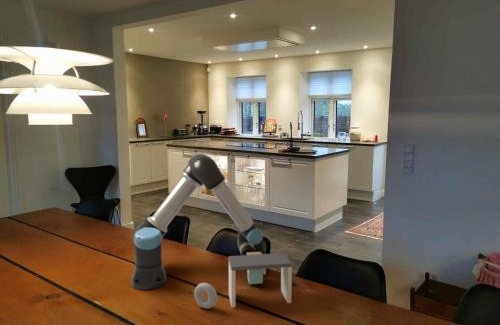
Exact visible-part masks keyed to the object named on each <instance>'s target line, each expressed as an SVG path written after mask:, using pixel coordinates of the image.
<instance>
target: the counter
mask: <svg viewBox="0 0 500 325" xmlns="http://www.w3.org/2000/svg"><path fill="white" fill-rule="evenodd" d="M279 268H280V269H281V270H280V291H281V293H282V296H283V298H284V299H285V301H286V303H287V304H291V303H292V287H293V285H292V284H293V283H292V282H293V281H292V280H293V278H292V277H293V275H292V274H293V262H292V260H290V258H289V257H288V255H287V254H286V253H285V252H283V253H282V252H281V253H280V252H279V253H262V254H260V255H243V256H241V255H239V256H237V255H230V256H229V255H228V298H229V303H230V305H231V306H230V307H231V308H236V271H245V270H252V269H266V270H268V269H279Z"/></svg>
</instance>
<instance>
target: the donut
mask: <svg viewBox="0 0 500 325" xmlns="http://www.w3.org/2000/svg"><path fill="white" fill-rule="evenodd" d="M204 293H206V295H207V299H206V298H205V296H204ZM193 295H194V299H195V302H196V303H197V305H199V307H200V308H203V309H205V310H206V309H208V310H209V309H211V308H213V307H214V306H215V305H216V303H217V300H218V294H217V291H216V289H215V288H214V287H213V285H211V284H210V283H207V282H201V283H198V285H196V286H195V288H194V291H193Z"/></svg>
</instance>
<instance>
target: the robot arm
mask: <svg viewBox="0 0 500 325" xmlns="http://www.w3.org/2000/svg"><path fill="white" fill-rule="evenodd" d="M202 186H204V187H205V189H206V190H207V191H210V192H211V193H212V194H213V196H214V197H215V199H216V200H217V202H219V203H220V206H221V207H223V209H224V210H225V212H226V214H227V215H228V216H229V218H231V220H232V221H233V223H234V224H235V226H236V227H237V241H236V244H237V249H238V250H239V252H240V255H238V254H237V255H236V256H243V255H247V252H257V249H256V248H255V246H257V245H259V244H260V243H261V242H262V241H263V238H264V235H263V232H262V230H260V229H259V228H258V226H257V225H256V223H255V222H254V220H253V216H251V215H250V214H248V212H247V211H246V209H245V208H244V206H243V205H242V204H241V202H240V201H239V199H238V198H237V197H236V195H235V194H234V192H233V191H232V189H231V188H230V187H229V185H228V184H227V183H226V178H225V176H224V174H223V173H222V171H221V170H220V168H219V166H218V164H217V163H216V161H215V160H214V159H213V158H212V157H210V156H208V154H207V155H206V154H205V153H204V154H203V153H198V154H195V155H193V156H191V158H190V159H189V160H188V162H187V166H185V168H184V169H183V171H182V177H181V178H180V180H179V181H178V183H177V184H176V185H175V186H174V188H172V190H171V192H170V193H169V194H168V195H167V197H166V198H165V199H164V200H163V201H162V203H161V205H159V207H158V208H157V210H156V211H155V213H153V215H152V216H147V217H146V218H145V220H144V221H143V222H142V223H141V224H139V225H138V227H137V228H136V230H135V232H134V237H133V244H134V261H135V262H134V265H135V266H134V267H135V268H134V270H133V274H132V277H131V286H132V287H133V288H135V289H137V290H143V291H145V290H146V291H147V290H154V289H158V288H160V287H163V286H164V285H165V284H166V283H167V281H168V280H167V278H168V277H167V273H166V270H165V267H164V265H163V242H162V241H163V238H164V236H165V235H166V233H167V232H168V225H169V224H171V222H172V220H174V218H175V217H176V215H177V214H178V213H179V211H180V210H182V207H183V206H184V205H185V203H186V202H187V201H188V200H189V198H190V197H191V196H192V195H193V193H194V191H195V190H196V189H197V188H199V187H202ZM244 271H245V272H246V273H247V272H248V275H250V270H244ZM266 272H267V269H263V275H266Z"/></svg>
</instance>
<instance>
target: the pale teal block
mask: <svg viewBox="0 0 500 325" xmlns="http://www.w3.org/2000/svg"><path fill="white" fill-rule="evenodd" d="M260 254H263V253H262V252H261V251H256V252H247V255H260ZM246 275H247V276H246V277H247V278H246V279H247V281H248V284H249V285H259V284H263V283H264V274H263V269H252V270H250V275H248V272H247V271H246Z"/></svg>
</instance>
